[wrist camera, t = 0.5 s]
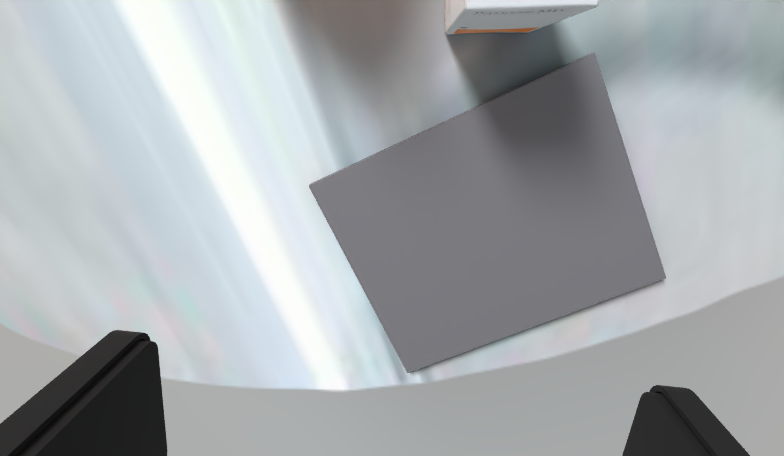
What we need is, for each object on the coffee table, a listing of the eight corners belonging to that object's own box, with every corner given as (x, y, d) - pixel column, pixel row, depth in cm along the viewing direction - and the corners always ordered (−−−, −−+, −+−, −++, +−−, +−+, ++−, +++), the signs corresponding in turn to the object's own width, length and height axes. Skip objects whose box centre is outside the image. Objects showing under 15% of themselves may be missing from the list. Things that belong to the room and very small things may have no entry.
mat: (590, 53, 31) (594, 53, 31) (660, 273, 36) (666, 277, 35) (310, 183, 35) (308, 186, 34) (407, 367, 40) (407, 373, 39)
